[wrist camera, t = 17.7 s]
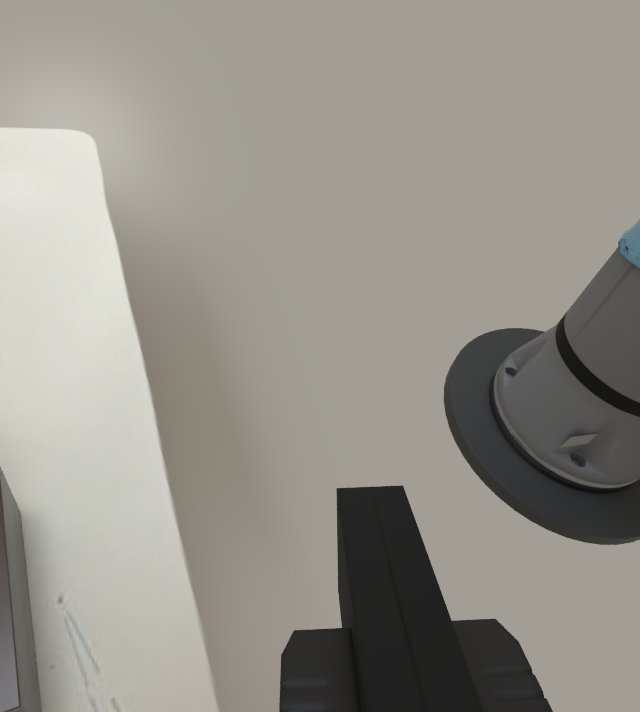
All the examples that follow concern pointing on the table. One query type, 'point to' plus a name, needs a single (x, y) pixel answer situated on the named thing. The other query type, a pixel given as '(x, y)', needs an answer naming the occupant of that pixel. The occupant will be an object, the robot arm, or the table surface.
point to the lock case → (15, 614)
